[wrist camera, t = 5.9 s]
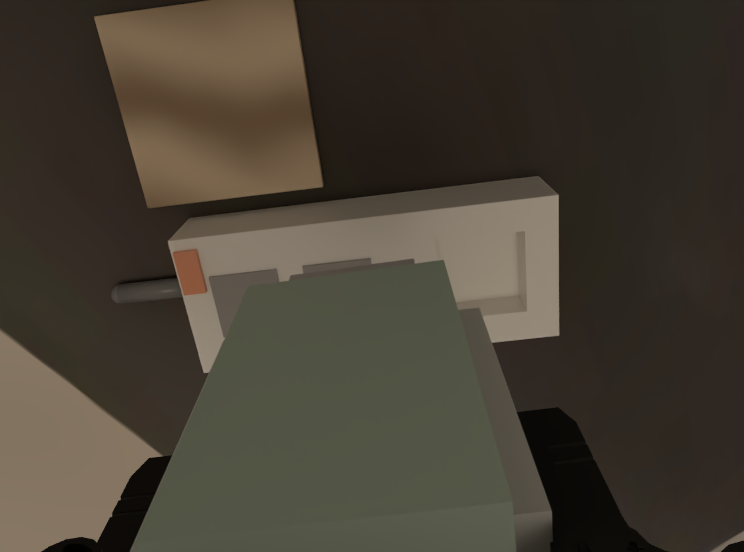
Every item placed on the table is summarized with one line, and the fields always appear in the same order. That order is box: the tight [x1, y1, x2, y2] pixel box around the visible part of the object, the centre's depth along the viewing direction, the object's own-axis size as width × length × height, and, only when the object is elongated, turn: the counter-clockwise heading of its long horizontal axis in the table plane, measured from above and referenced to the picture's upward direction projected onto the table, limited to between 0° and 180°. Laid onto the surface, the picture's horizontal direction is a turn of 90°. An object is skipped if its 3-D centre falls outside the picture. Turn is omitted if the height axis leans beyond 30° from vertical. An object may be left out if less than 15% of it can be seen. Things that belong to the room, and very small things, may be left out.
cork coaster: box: [94, 0, 324, 208], centre depth 32 cm, size 10×10×1 cm
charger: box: [134, 258, 516, 552], centre depth 13 cm, size 5×5×10 cm
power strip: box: [111, 176, 559, 373], centre depth 34 cm, size 26×8×4 cm, turn 97°
